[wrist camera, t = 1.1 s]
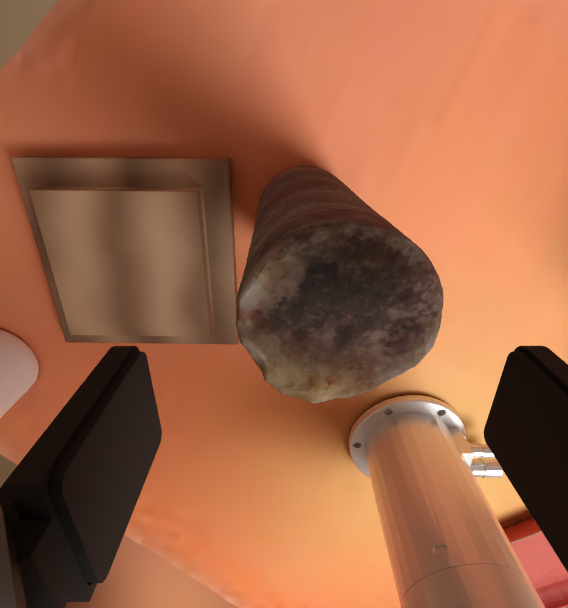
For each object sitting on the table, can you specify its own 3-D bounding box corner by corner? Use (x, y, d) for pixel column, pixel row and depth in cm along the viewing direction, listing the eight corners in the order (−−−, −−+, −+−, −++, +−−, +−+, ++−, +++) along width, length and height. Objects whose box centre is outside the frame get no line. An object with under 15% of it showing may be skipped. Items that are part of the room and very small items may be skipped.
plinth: (230, 158, 28) (223, 162, 25) (239, 335, 35) (234, 356, 32) (24, 156, 28) (-9, 159, 25) (74, 333, 35) (53, 354, 32)
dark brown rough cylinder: (349, 157, 28) (461, 210, 10) (354, 248, 31) (445, 411, 13) (252, 171, 29) (194, 244, 11) (266, 259, 32) (239, 431, 14)
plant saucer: (433, 544, 50) (442, 571, 47) (564, 492, 45) (584, 518, 42) (488, 601, 56) (499, 628, 53) (608, 561, 51) (628, 587, 48)
